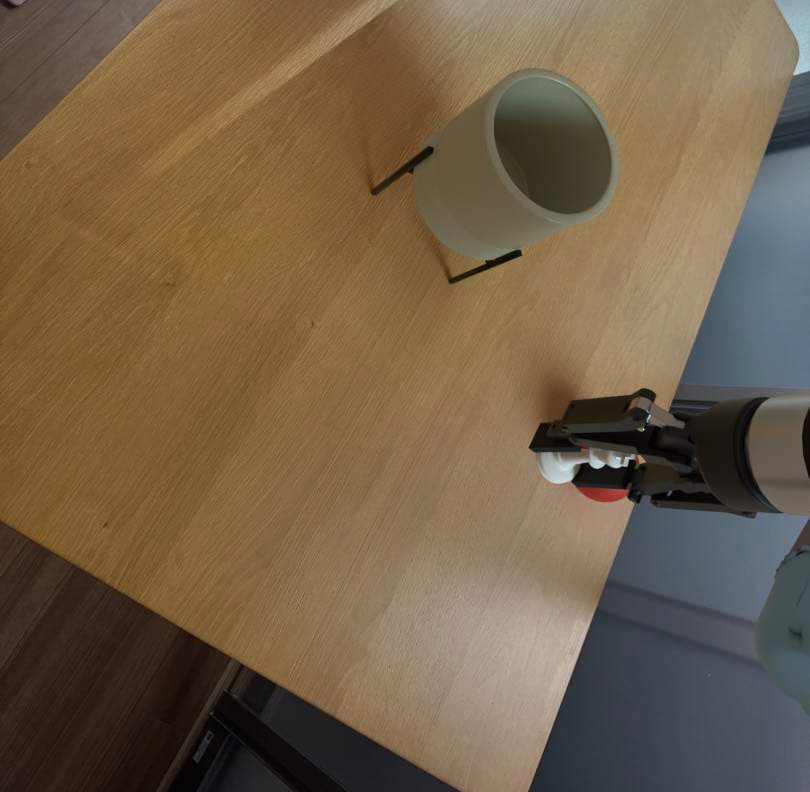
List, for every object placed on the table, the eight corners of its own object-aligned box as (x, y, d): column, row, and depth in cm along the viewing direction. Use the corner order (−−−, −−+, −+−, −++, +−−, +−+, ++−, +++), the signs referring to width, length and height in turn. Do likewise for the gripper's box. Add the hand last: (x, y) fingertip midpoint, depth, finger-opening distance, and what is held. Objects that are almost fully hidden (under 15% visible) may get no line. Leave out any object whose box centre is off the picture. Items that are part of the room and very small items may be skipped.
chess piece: (528, 470, 66) (603, 472, 58) (543, 420, 69) (617, 414, 60) (569, 492, 68) (648, 496, 59) (582, 442, 70) (661, 439, 61)
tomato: (590, 514, 86) (647, 519, 78) (543, 475, 84) (596, 477, 76) (615, 455, 90) (671, 455, 82) (570, 417, 88) (623, 413, 80)
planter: (512, 222, 91) (647, 156, 71) (437, 306, 83) (566, 257, 64) (433, 129, 89) (549, 35, 70) (349, 205, 81) (454, 123, 62)
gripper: (874, 480, 52) (637, 474, 72) (707, 326, 48) (506, 365, 68) (852, 580, 48) (610, 544, 68) (670, 422, 44) (470, 433, 64)
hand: (558, 455), depth 68 cm, fingers closed on chess piece, 5 cm apart
